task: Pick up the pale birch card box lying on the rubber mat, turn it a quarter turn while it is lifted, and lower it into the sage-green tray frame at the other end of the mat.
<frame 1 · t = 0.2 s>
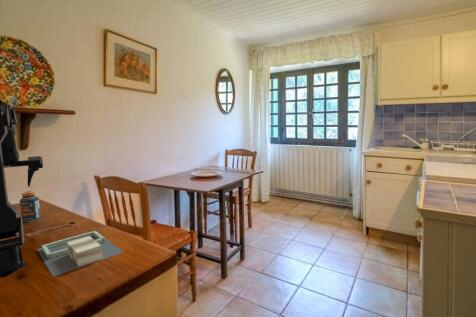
hand: (11, 188, 92), 15 cm above the table, tool pointing down, fingers open, 9 cm apart
pill bottle: (31, 220, 107), on the table
card box: (84, 256, 70), resting on mat
tray frame: (74, 245, 78), resting on mat
mat: (79, 252, 74), on the table
key: (52, 231, 94), on the table
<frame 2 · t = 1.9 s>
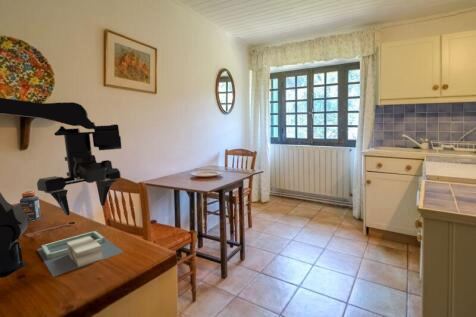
hand: (86, 210, 72), 12 cm above the table, tool pointing down, fingers open, 9 cm apart
nothing on the table moved.
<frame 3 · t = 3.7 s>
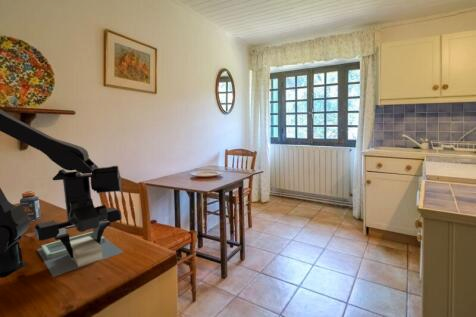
hand: (84, 253, 70), 1 cm above the table, tool pointing down, fingers closed on card box, 5 cm apart
card box: (84, 256, 70), resting on mat, touching gripper
everything else where it was.
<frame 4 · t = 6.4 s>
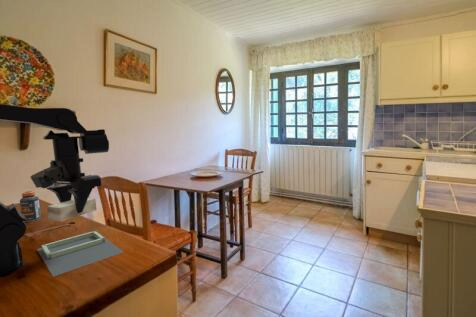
hand: (73, 211, 75), 11 cm above the table, tool pointing down, fingers closed on card box, 5 cm apart
card box: (73, 214, 75), point 10 cm above the table, touching gripper
everything else where it was.
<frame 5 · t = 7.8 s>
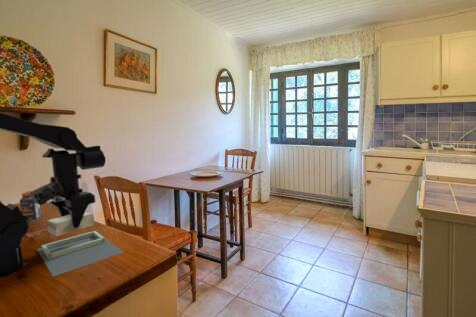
hand: (71, 225, 77), 6 cm above the table, tool pointing down, fingers closed on card box, 5 cm apart
card box: (72, 228, 77), point 6 cm above the table, touching gripper
everything else where it was.
when the fingers open (2 cm above the table, at t = 9.0 s): card box stays where it is, resting on mat.
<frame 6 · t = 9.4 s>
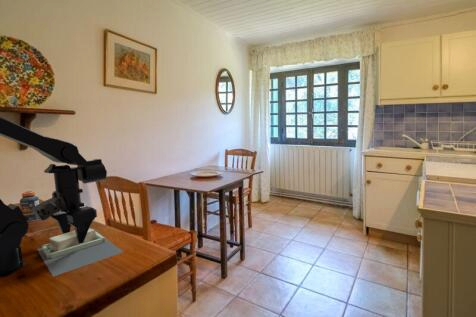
hand: (73, 239, 78), 2 cm above the table, tool pointing down, fingers open, 9 cm apart
card box: (74, 245, 78), resting on mat
everything else where it was.
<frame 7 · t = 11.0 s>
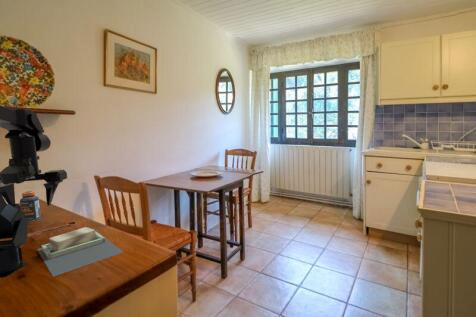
hand: (31, 207, 78), 12 cm above the table, tool pointing down, fingers open, 9 cm apart
nothing on the table moved.
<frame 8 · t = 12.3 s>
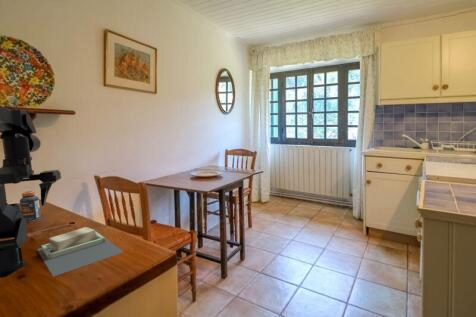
hand: (24, 207, 78), 12 cm above the table, tool pointing down, fingers open, 9 cm apart
nothing on the table moved.
at the end: card box 0.0 cm off-centre on the tray frame, point 0.0 cm above the tray frame's base; card box tilted 0°; the gripper is holding nothing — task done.
